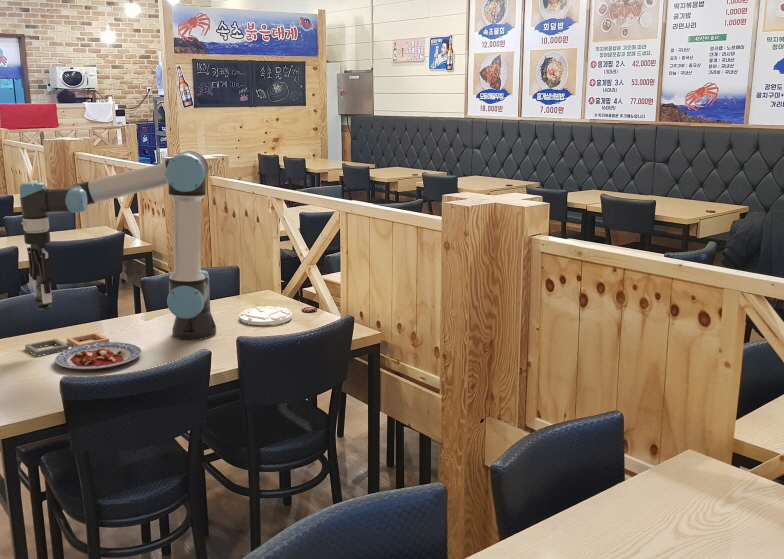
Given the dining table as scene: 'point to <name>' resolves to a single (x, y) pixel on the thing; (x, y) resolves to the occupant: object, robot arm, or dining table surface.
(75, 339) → the socket
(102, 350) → the ceramic plate
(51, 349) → the socket
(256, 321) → the embossed medallion
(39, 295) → the chess piece
